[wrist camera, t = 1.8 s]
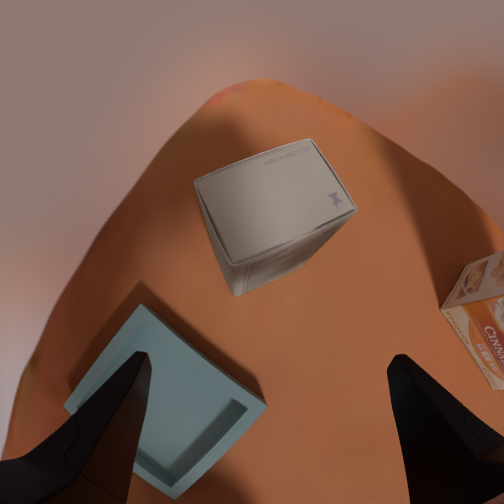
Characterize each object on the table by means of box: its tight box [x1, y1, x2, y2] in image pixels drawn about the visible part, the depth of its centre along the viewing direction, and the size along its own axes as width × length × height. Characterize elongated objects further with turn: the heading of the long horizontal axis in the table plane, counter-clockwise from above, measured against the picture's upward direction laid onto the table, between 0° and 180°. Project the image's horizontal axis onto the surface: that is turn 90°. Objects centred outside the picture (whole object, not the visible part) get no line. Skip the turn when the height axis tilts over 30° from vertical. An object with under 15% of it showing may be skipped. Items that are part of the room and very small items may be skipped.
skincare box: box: [194, 138, 358, 297], centre depth 18 cm, size 6×4×12 cm
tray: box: [63, 304, 268, 500], centre depth 19 cm, size 12×12×2 cm
